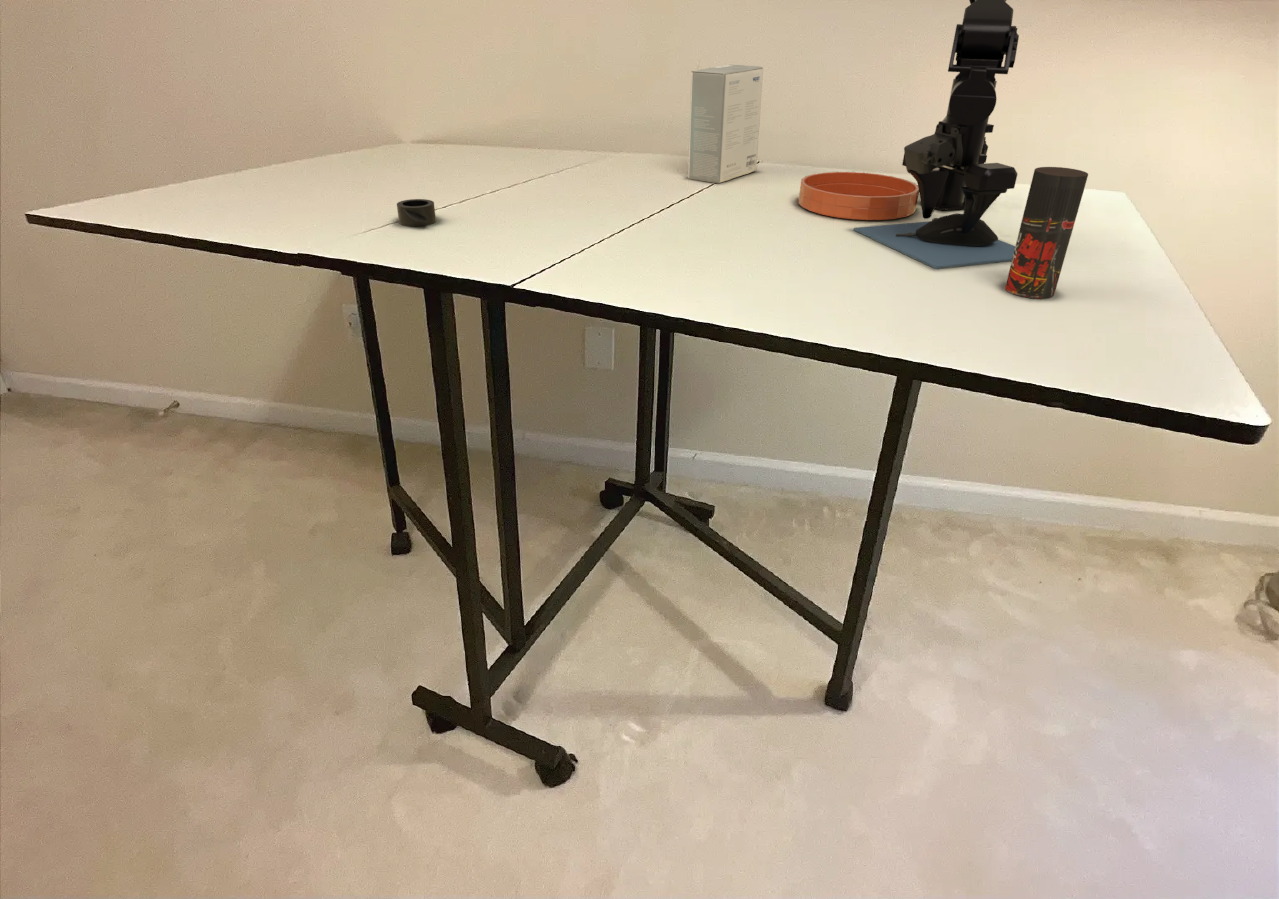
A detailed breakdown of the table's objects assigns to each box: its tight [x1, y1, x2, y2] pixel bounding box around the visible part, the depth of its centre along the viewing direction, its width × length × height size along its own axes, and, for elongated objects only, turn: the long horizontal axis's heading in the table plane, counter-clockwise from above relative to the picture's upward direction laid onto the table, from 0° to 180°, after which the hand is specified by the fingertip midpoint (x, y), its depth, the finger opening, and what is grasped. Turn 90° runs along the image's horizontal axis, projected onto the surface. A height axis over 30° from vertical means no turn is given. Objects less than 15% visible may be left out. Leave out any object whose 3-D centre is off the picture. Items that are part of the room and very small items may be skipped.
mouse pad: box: [853, 220, 1016, 270], centre depth 124 cm, size 18×21×1 cm
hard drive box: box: [687, 64, 764, 184], centre depth 160 cm, size 16×8×20 cm, turn 144°
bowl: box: [798, 171, 920, 221], centre depth 142 cm, size 20×20×4 cm
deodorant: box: [1004, 166, 1089, 300], centre depth 101 cm, size 6×6×15 cm
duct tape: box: [396, 198, 437, 227], centre depth 130 cm, size 8×10×3 cm
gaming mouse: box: [896, 213, 999, 246], centre depth 123 cm, size 6×15×4 cm, turn 77°
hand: (945, 225), depth 122 cm, fingers open, 9 cm apart
